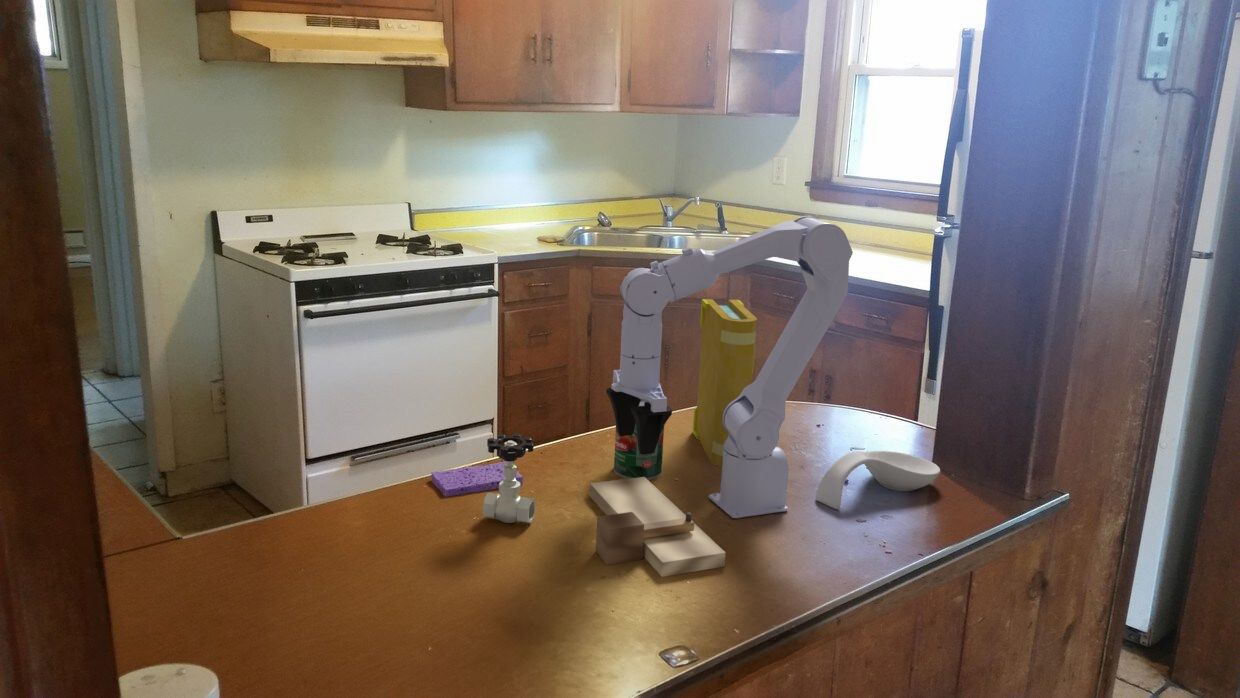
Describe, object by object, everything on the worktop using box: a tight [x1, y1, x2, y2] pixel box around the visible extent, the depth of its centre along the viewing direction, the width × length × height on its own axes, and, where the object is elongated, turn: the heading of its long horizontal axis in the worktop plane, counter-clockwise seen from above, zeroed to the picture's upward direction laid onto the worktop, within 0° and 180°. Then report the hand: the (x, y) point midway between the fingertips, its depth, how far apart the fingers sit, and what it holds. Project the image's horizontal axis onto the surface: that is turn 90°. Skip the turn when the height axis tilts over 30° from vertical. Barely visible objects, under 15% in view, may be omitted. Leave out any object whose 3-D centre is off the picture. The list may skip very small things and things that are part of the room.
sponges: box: [430, 461, 524, 498], centre depth 142 cm, size 7×13×2 cm, turn 118°
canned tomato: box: [613, 400, 665, 481], centre depth 148 cm, size 8×8×11 cm
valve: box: [482, 433, 536, 524], centre depth 128 cm, size 7×7×12 cm
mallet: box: [595, 512, 695, 566], centre depth 122 cm, size 13×4×5 cm, turn 113°
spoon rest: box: [814, 450, 941, 510], centre depth 145 cm, size 24×12×7 cm, turn 127°
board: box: [589, 477, 726, 578], centre depth 129 cm, size 9×26×2 cm, turn 23°
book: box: [692, 298, 758, 468], centre depth 158 cm, size 17×7×25 cm, turn 6°
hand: (635, 443), depth 134 cm, fingers open, 7 cm apart
